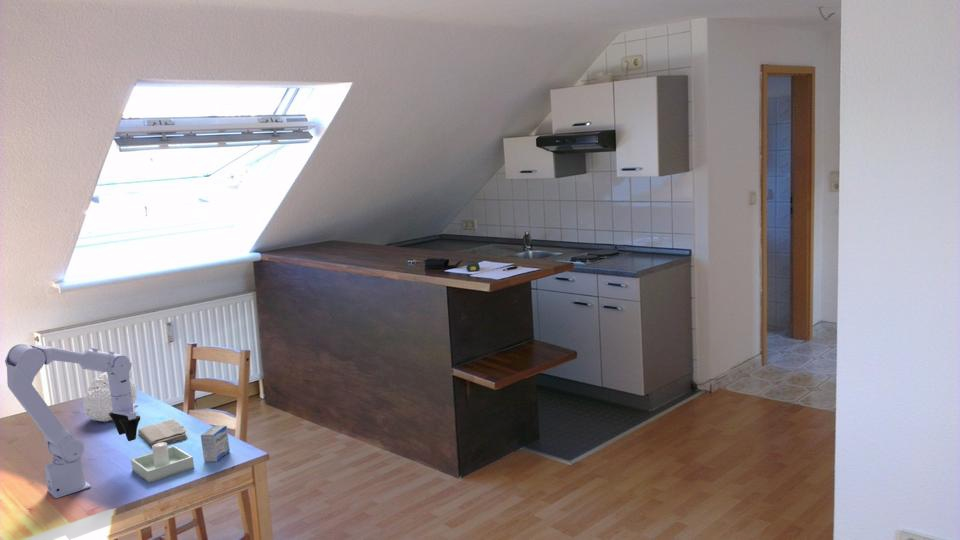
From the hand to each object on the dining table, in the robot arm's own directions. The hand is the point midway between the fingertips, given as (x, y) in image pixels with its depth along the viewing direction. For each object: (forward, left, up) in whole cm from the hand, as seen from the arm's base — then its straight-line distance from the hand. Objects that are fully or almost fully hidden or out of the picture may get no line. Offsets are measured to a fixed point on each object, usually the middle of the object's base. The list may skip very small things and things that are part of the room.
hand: (127, 436), depth 238 cm
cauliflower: (+13, +52, -10) cm, 54 cm away
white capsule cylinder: (+5, -10, -9) cm, 14 cm away
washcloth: (+17, +18, -10) cm, 26 cm away
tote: (+6, -10, -9) cm, 15 cm away
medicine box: (+21, -14, -10) cm, 27 cm away
